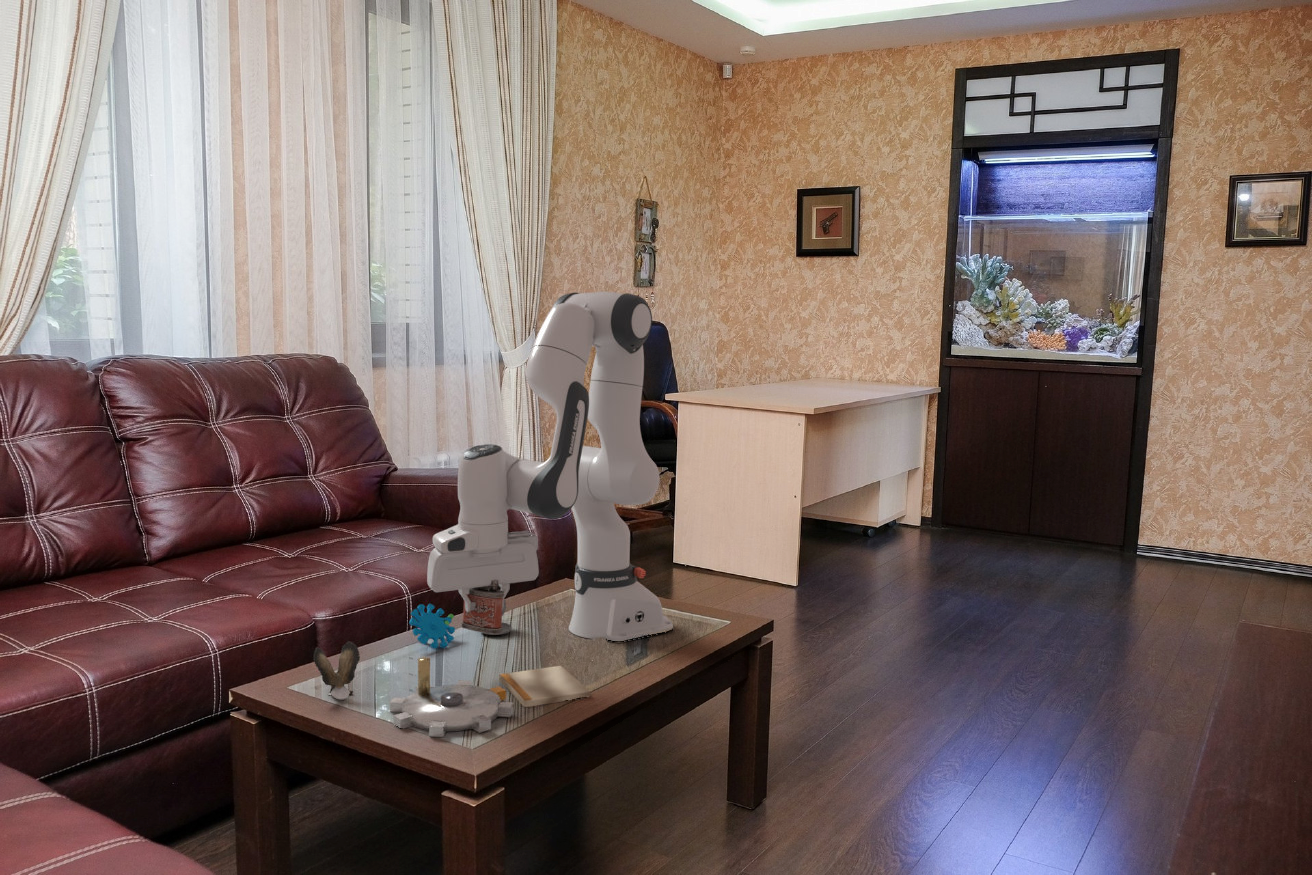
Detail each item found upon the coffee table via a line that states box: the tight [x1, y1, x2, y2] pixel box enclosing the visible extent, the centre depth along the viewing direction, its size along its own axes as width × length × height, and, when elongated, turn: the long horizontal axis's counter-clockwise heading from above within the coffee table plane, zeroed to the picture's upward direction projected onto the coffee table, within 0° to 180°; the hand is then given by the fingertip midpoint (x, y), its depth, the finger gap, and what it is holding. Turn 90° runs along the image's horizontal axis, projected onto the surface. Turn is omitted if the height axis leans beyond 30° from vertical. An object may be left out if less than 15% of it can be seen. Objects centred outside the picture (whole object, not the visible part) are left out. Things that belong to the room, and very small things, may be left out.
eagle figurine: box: [313, 640, 361, 701], centre depth 173 cm, size 8×7×9 cm
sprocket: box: [389, 656, 514, 738], centre depth 168 cm, size 20×20×8 cm
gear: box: [408, 603, 456, 650], centre depth 203 cm, size 11×6×10 cm
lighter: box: [461, 580, 504, 634], centre depth 185 cm, size 8×3×10 cm, turn 68°
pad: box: [498, 665, 591, 708], centre depth 180 cm, size 12×14×1 cm
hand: (484, 608), depth 186 cm, fingers closed on lighter, 4 cm apart
